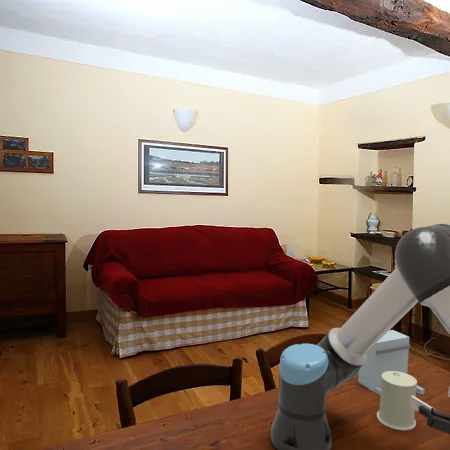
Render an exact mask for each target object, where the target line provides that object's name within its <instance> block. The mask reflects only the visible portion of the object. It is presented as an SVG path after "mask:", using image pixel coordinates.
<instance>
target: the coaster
mask: <svg viewBox="0 0 450 450" xmlns="http://www.w3.org/2000/svg"><path fill="white" fill-rule="evenodd" d="M379 411H380V409H378V411H377V412H376V419H377V420H378V421H379V422H380V423H381V424H382V425H384V426H385V427H387V428H390V429H393V430H397V431H404V432H405V431H411V430H413V429H415V428H416V424H417V421H416V419H415V418H414V420H415V423H414V424H413V425H412V426H410V427H396V426H393V425H390V424H388V423H386V422H384V421H383V420H382V419H381V418H380V416H379Z"/></svg>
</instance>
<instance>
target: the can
mask: <svg viewBox="0 0 450 450" xmlns="http://www.w3.org/2000/svg"><path fill="white" fill-rule="evenodd" d="M417 385H418V381H417V379H416V378H415V377H414V376H412V375H410V374H409V373H407V374H406V373H403V372H398V371H386V372H384V373H382V375H381V396H379V397H380V401H379V410H380V411H379V410H378V411H379V416H380V418H381V419H382V420H383V421H384V422H386V423H388V424H390V425H393V426H396V427H410V426H412V425H413V424H414V423H415V421H416V419H415V411H416V410H415V409H413V408H412V407H410V397H411V396H414V397H416V398H417V396H416V395H417V392H416V386H417ZM414 419H415V420H414Z"/></svg>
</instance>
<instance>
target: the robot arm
mask: <svg viewBox="0 0 450 450" xmlns="http://www.w3.org/2000/svg"><path fill="white" fill-rule="evenodd" d="M394 263H395V268H394V270H392V272H390V274H389V275H388V276H387V277H386V278H385V280H384V281H382V282H381V284H380V285H379V286H378V287H377V288H376V289H375V290H374V291H373V292H372V293H371V295H370V296H369V297H368V298H367V299H366V300H365V301H364V302H363V303H362V305H360V306H359V307H358V309H357V310H356V311H355V312H354V313H353V314H352V315H351V316H350V317H349V318H348V320H347V321H345V323H344V324H343V325H342V326H341V327H333V328H331V329H329V331H328V332H327V333H326V335H325V336H324V337H322V339H321V340H320V341H319V342H318V343H317V344H314V343H301V344H300V343H297V344H296V343H295V344H292V345H290V346H288V347H287V348H285V349H284V350H283V351H282V353H281V355H280V361H279V366H278V373H279V375H278V376H279V377H278V378H279V379H278V381H279V382H278V409H277V412H276V414H275V416H274V419H273V422H272V425H271V428H270V441H271V443H272V445H273V447H274V448H275V449H276V450H331V448H332V432H331V430H330V426H329V422H328V419H327V415H326V407H327V405H326V403H327V394H328V393H331V392H332V391H333V390H335V389H336V388H338V387H339V386H341V385H343V384H344V383H346V382H347V381H350V380H351V379H353V378H354V377H356V375H358V374H359V370H360V368H361V366H362V365H363V364H364V363H365V362H366V360H367V354H366V352H368V351H369V350H370V349H371V348H372V347H373V346H374V345H375V344H376V343H377V342H378V341H379V340H380V339H381V338H382V337H383V336H384V335H385V334H386V333H387V332H388V331H389V330H391V329H392V328H393V327H394V326H395V325H396V324H397V323H398V322H399V321H400V320H401V319H403V318H404V316H405V315H407V313H408V312H409V311H410V310H411V309H413V307H414V306H415V305H417V304H418V303H419V304H420V305H421V306H424V307H428V308H430V310H431V311H432V312H433V314H434V315H435V316H436V318H437V319H438V320H439V322H440V324H441V325H442V326H443V328H444V329H445V330H446V331H447V333H448V334H449V335H450V224H449V223H447V224H446V223H436V224H432V225H428V226H420V227H416V228H413V229H411V230H409V231H407V232H406V233H404V234H403V235H402V237H401V238H400V239H399V240H398V242H397V244H396V248H395V252H394ZM447 395H448V398H450V386H448V394H447ZM410 407H412V408H413V409H415V411H416V412H418V414H420V415H421V416H423V417H424V418H426V420H427V421H426V426H427V427H429V428H431V429H435V430H436V431H440V432H442V433H445V434H447V435H450V414H446V413H443V412H438V411H436V408H434V407H433V406H432V405H429V404H428V403H426V402H424V401H422V400H421V399H419V398H418V397H417V396H416V397H414V396H411V397H410Z"/></svg>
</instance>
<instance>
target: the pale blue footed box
mask: <svg viewBox="0 0 450 450" xmlns="http://www.w3.org/2000/svg"><path fill="white" fill-rule="evenodd" d="M409 349H411V344H410V336H408V335H406V334H403V333H401V332H398V331H396V330H393V329H392V330H391V329H390V330H389V331H388V332H387V333H386V334H385V335H384V336H383V337H382V338H381V339H380V340H379V341H378V342H377V343H376V344H375V345H374V346H373V347H372V348H371V349H370V350H369V351H368V352H366V354H367V360H366V362H365V363H364V364H363V365H362V366H361V368H360V370H359V372H358V380H357V381H358V384H360V385H362V386H364V387H366V388H367V389H368V390H370V391H372V393H374V394H376V395H378V396H379V397H381V375H382V373H384V372H386V371H398V372H403V373H406V374H408V366H409V352H410V351H409ZM425 391H426V389H425V388H423V387H421V386H420V385H418V384H417V386H416V394H419V395H421V396H423V395H425Z"/></svg>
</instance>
